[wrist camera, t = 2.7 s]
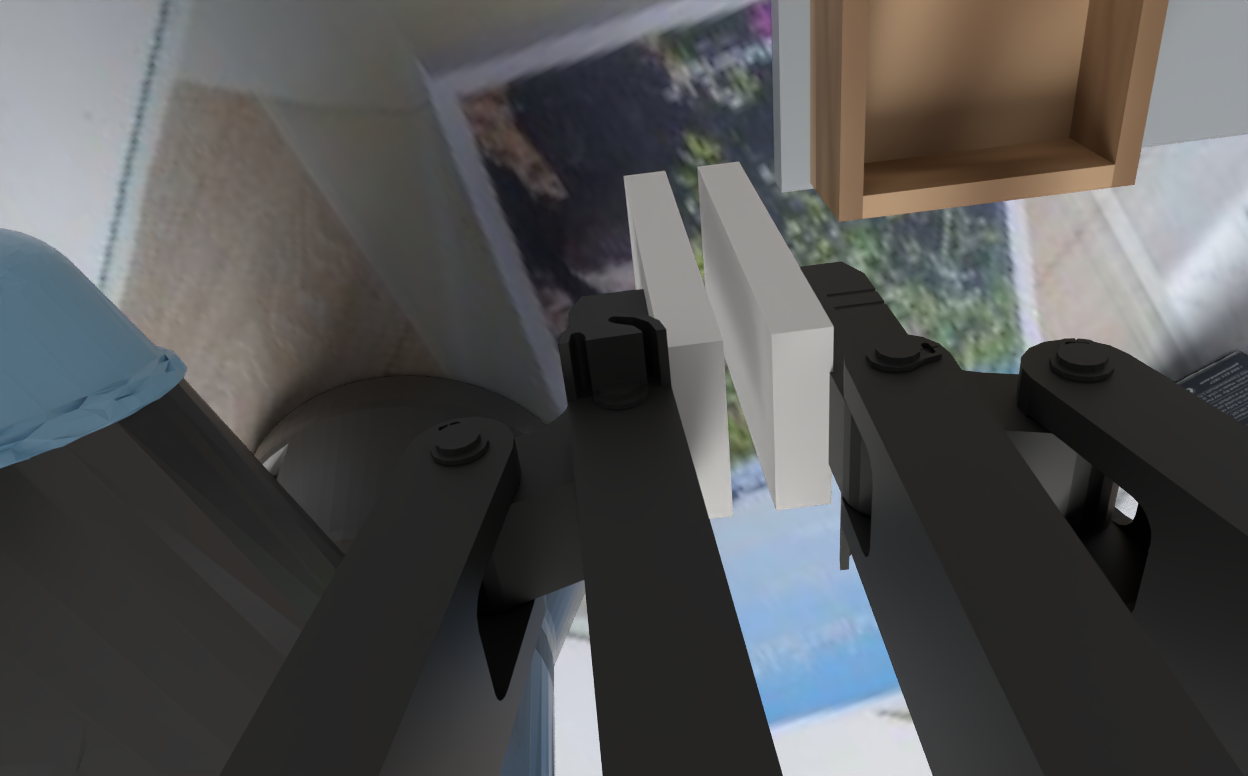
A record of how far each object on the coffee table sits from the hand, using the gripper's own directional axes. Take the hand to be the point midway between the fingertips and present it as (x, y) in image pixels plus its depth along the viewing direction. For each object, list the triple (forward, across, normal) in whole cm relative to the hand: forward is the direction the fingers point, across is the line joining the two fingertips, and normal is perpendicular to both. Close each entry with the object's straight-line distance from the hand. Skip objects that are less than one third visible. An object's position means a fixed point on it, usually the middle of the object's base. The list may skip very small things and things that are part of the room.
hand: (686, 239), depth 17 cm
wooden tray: (+15, +11, 0) cm, 19 cm away
